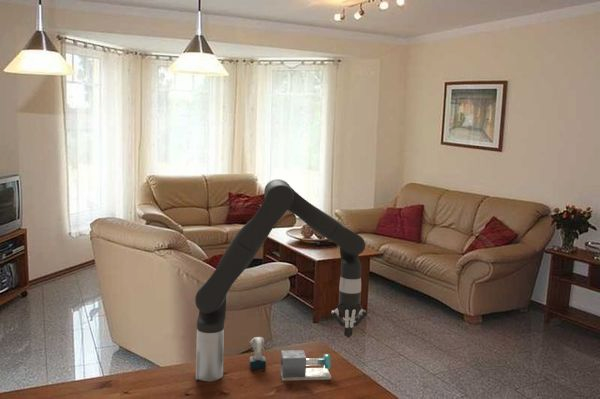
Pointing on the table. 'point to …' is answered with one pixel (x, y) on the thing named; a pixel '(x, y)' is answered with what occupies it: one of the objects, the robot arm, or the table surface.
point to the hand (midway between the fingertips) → (347, 336)
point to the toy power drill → (257, 354)
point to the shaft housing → (299, 367)
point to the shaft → (320, 361)
